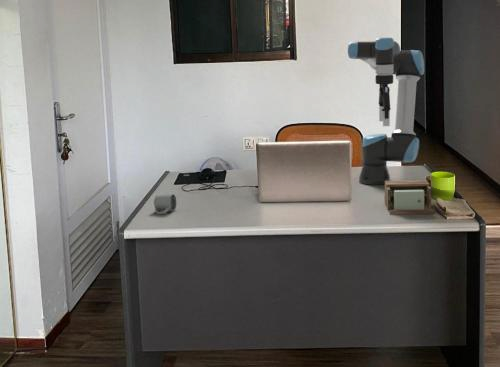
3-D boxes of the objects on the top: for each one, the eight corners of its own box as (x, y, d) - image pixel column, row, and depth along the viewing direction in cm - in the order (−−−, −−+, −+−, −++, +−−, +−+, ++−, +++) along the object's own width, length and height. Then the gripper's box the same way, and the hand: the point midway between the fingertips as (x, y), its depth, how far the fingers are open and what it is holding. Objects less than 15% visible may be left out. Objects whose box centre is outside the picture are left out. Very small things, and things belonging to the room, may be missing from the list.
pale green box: (393, 211, 324) (394, 190, 322) (422, 210, 323) (423, 189, 321) (395, 213, 320) (395, 192, 318) (424, 212, 319) (424, 191, 317)
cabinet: (384, 203, 337) (384, 180, 334) (426, 202, 335) (426, 180, 333) (389, 214, 319) (389, 190, 316) (433, 213, 317) (434, 189, 315)
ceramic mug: (160, 208, 342) (158, 191, 340) (177, 208, 340) (176, 192, 338) (150, 214, 332) (149, 197, 330) (168, 215, 330) (167, 198, 328)
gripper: (372, 72, 341) (372, 119, 346) (379, 77, 317) (378, 128, 322) (389, 71, 341) (389, 119, 346) (397, 76, 316) (397, 127, 321)
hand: (384, 123), depth 334 cm, fingers open, 13 cm apart
